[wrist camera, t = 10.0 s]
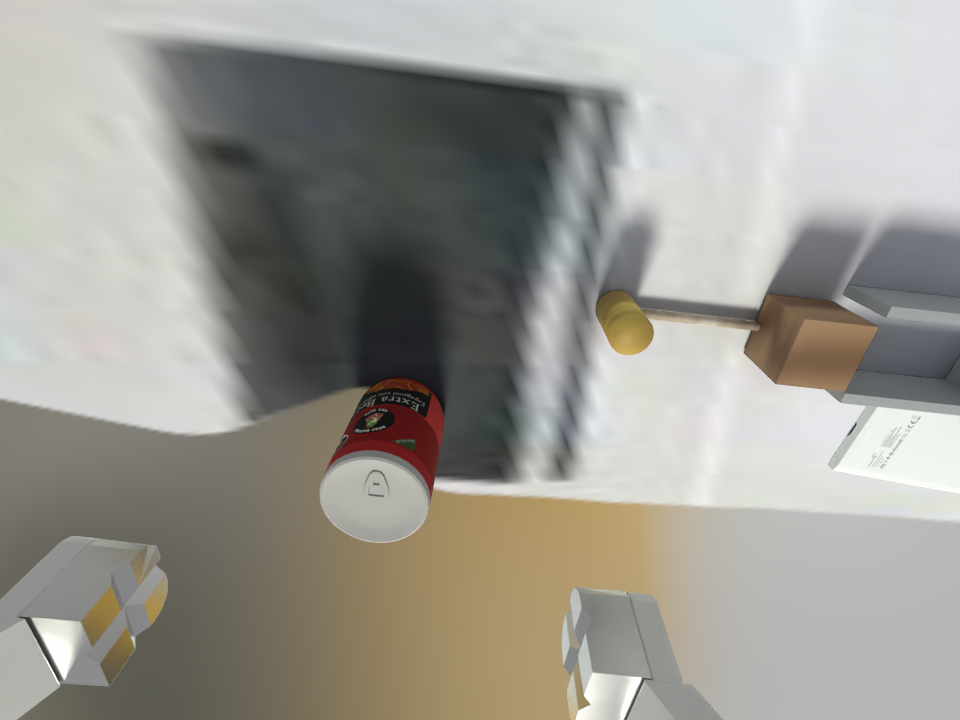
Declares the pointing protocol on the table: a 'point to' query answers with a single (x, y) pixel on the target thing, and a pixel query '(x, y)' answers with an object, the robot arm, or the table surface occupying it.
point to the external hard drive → (903, 448)
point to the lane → (902, 390)
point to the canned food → (385, 463)
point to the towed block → (762, 336)
